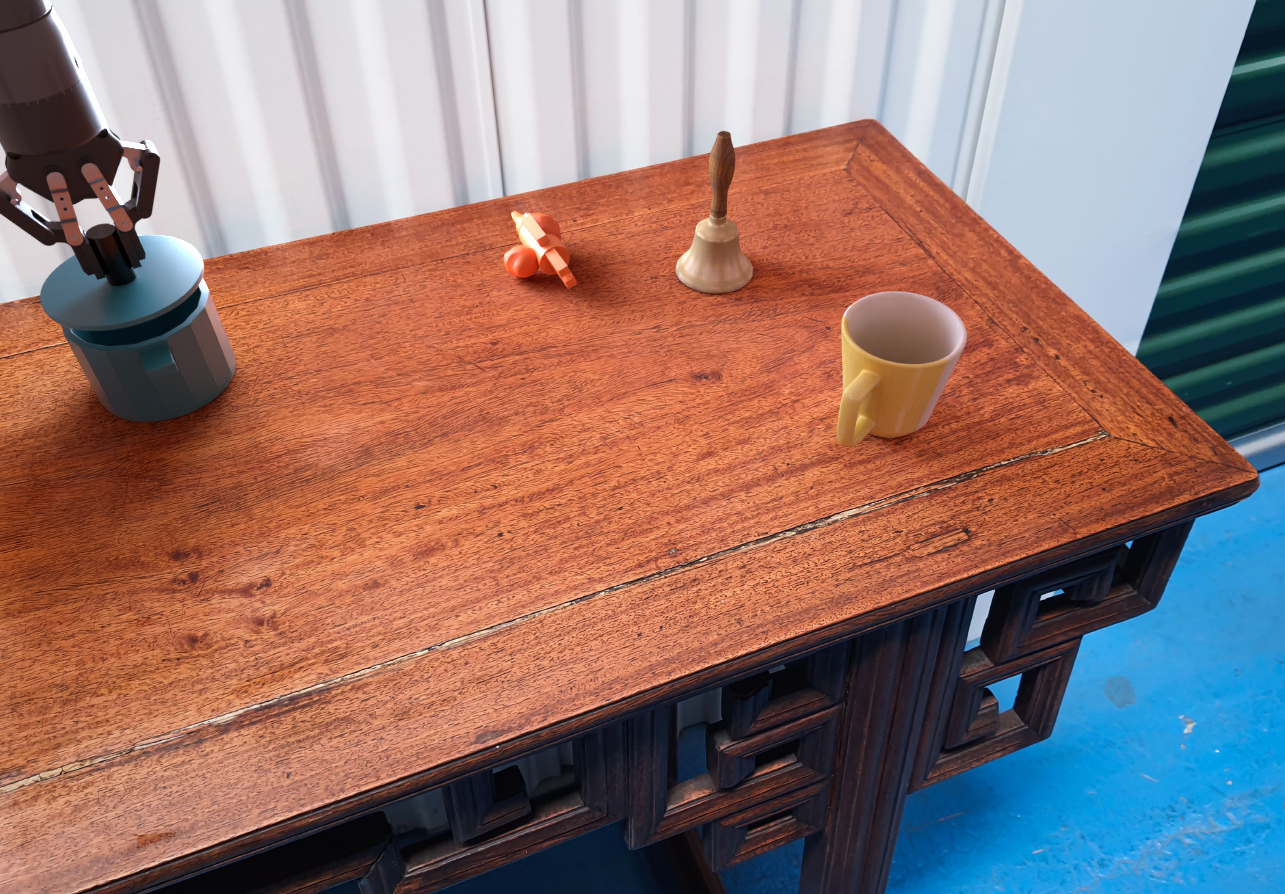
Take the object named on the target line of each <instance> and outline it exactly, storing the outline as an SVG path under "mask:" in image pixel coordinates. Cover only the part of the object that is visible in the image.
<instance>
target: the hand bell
mask: <svg viewBox="0 0 1285 894" xmlns="http://www.w3.org/2000/svg"><path fill="white" fill-rule="evenodd" d="M712 145H713V146H712V148H711V150H710V154H709V157H708V158H709V159H708V176H709V181H710V186H711V193H712V195H711V201H710V202H711V205H710V212H709V217H706V218H704V219H702V220H700V221H699V222H698V223H697V225H696V226H695V231H694V235H693V239H692V243H691V246H690V248H689V249H688V250H686V251H685V252H684V253H682V254H681V256H680V257H679V259H678V260H677V262H676V264H675V274H676V276H677V278H678V280H679V281H680V282H681V283H682V284H683V285H685V286H686V287H688V288H690V289H692V290H693V291H697V292H701V293H705V294H727V293H732V292H735V291H738V290H740V289H742V288H744V287H745V286H747V285H748V284H749V283H750V281H751V280H752V278H753V276H754V268H753V265H752V263H751V260H750V259H749V258H748V256H747V255H745V254H744V253H743V251H742V249H741V245H740V235H739V228H738V225H737V224H736V223H735V222H734V221H733V220H731V219H729V218H727V214H728V194H729V188H730V186H731V184H732V182H733V179H734V175H735V169H736V152H735V147H734V144H733V140H732V134H731V132H730V131H727V130H720V131H719V132H717V134H716V138H715V141H714V143H713V144H712Z"/></svg>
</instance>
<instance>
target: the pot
mask: <svg viewBox="0 0 1285 894" xmlns="http://www.w3.org/2000/svg"><path fill="white" fill-rule="evenodd" d="M60 326H61V329H62V332H63V336H64V339H65V340H66V342H67V343H68V345H69V347H70V349H71V351H72V353H73V354H74V357H75V358H76V360H77V362H78V364H79V366H80V368H81V369H82V371H83V373H84V375H85V377H86V378H87V381H88V382H89V384H90V386H91V387H92V389H93V391H94V393H95V395H96V397H97V399H98V401H99V402H100V404H101V405H102V406H103V407H104V408H105V409H106V410H107V411H108V412H109V413H111V414H112V415H114V416H116V417H118V418H121V419H122V420H127V421H131V422H138V423H139V422H141V423H150V422H151V423H153V422H160V421H167V420H172V419H175V418H180V417H183V416H185V415H188V414H190V413H193V412H195V411H197V410H199V409H201V408H202V407H205V406H206V405H207V404H210V402H212V401H213V400H215V399H216V398H217V397H219V396H220V395H221V394H222V393H223V392H224V391H225V389H226V388H227V387H229V385H230V383H231V382H232V380H233V378H234V376H235V373H236V367H237V361H236V355H235V353H234V350H233V348H232V345H231V342H230V339H229V337H228V335H227V332H226V330H225V327H224V325H223V322H222V320H221V317H220V315H219V312H218V310H217V307H216V305H215V302H214V300H213V296H212V294H211V292H210V290H209V288H208V285H207V283H206V282H205V279H204V278H202V280H201V282H200V284H199V286H198V287H197V289H196V290H195V291H194V292H193V294H191V295H190V296H189V297H188V298H187V299H186V300H185V301H184V302H182V303H181V304H180V305H178V306H177V307H175V308H174V309H172V310H171V311H169V312H167V313H165V314H163V315H161V316H159V317H156V318H154V319H152V320H149V321H146V322H144V323H141V324H137V325H134V326H130V327H125V328H120V329H114V330H105V331H85V330H77V329H72V328H68V327H65V326H63V325H60Z"/></svg>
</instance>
